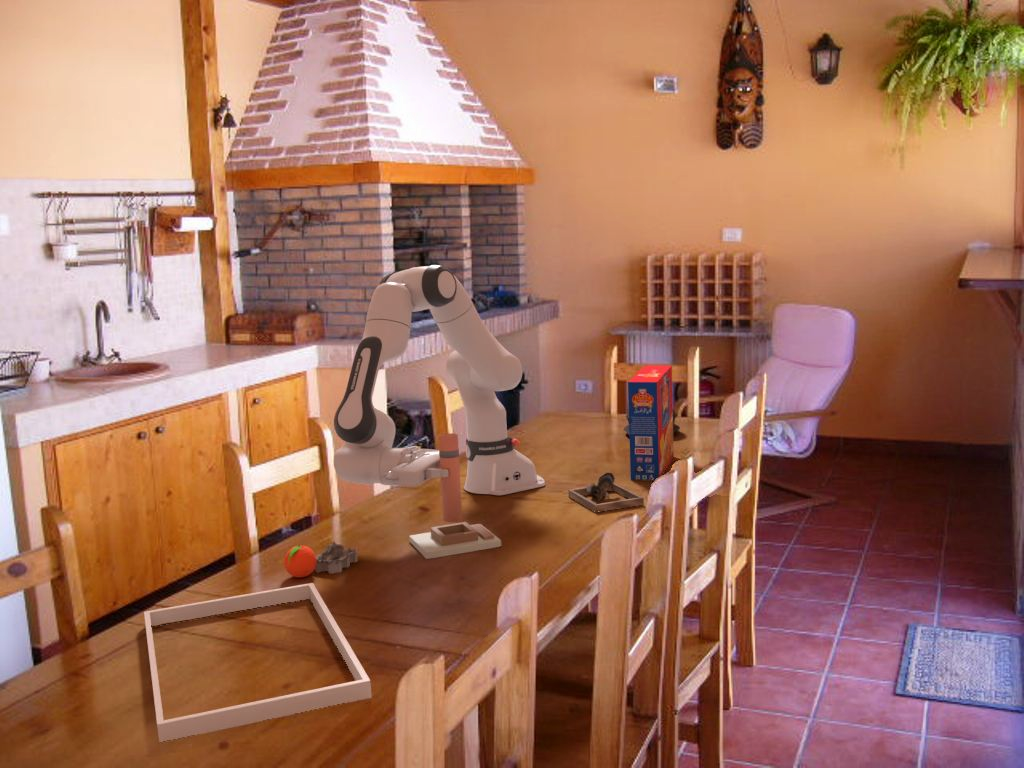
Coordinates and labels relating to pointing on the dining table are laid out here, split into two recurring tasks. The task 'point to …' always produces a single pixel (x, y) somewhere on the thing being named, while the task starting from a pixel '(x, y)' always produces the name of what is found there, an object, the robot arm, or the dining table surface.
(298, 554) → the clementine
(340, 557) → the grey castle model
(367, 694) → the frame
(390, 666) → the dining table surface
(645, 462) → the blue cardboard box
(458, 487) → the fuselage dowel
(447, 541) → the cradle jig
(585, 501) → the figurine display rim
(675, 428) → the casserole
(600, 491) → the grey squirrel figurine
